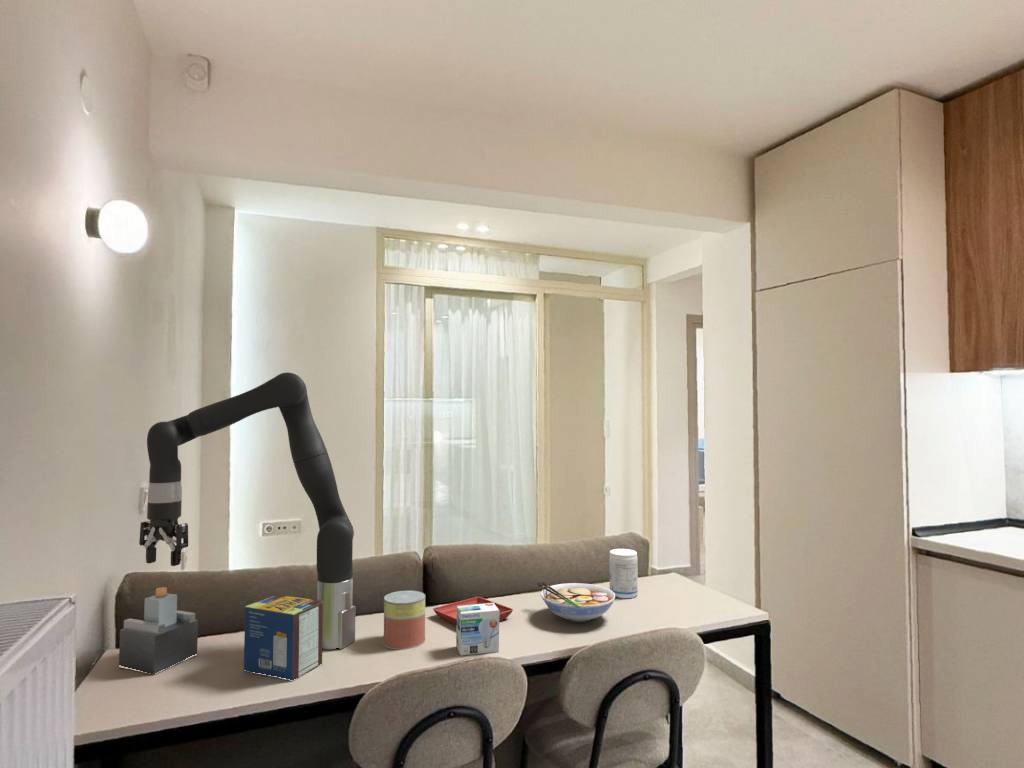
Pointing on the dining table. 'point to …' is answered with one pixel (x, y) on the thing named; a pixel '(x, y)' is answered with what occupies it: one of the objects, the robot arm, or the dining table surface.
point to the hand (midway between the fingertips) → (163, 564)
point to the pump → (161, 607)
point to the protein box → (283, 636)
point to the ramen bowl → (577, 600)
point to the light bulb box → (477, 629)
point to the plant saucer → (450, 610)
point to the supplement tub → (623, 573)
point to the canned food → (404, 619)
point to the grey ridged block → (157, 643)
